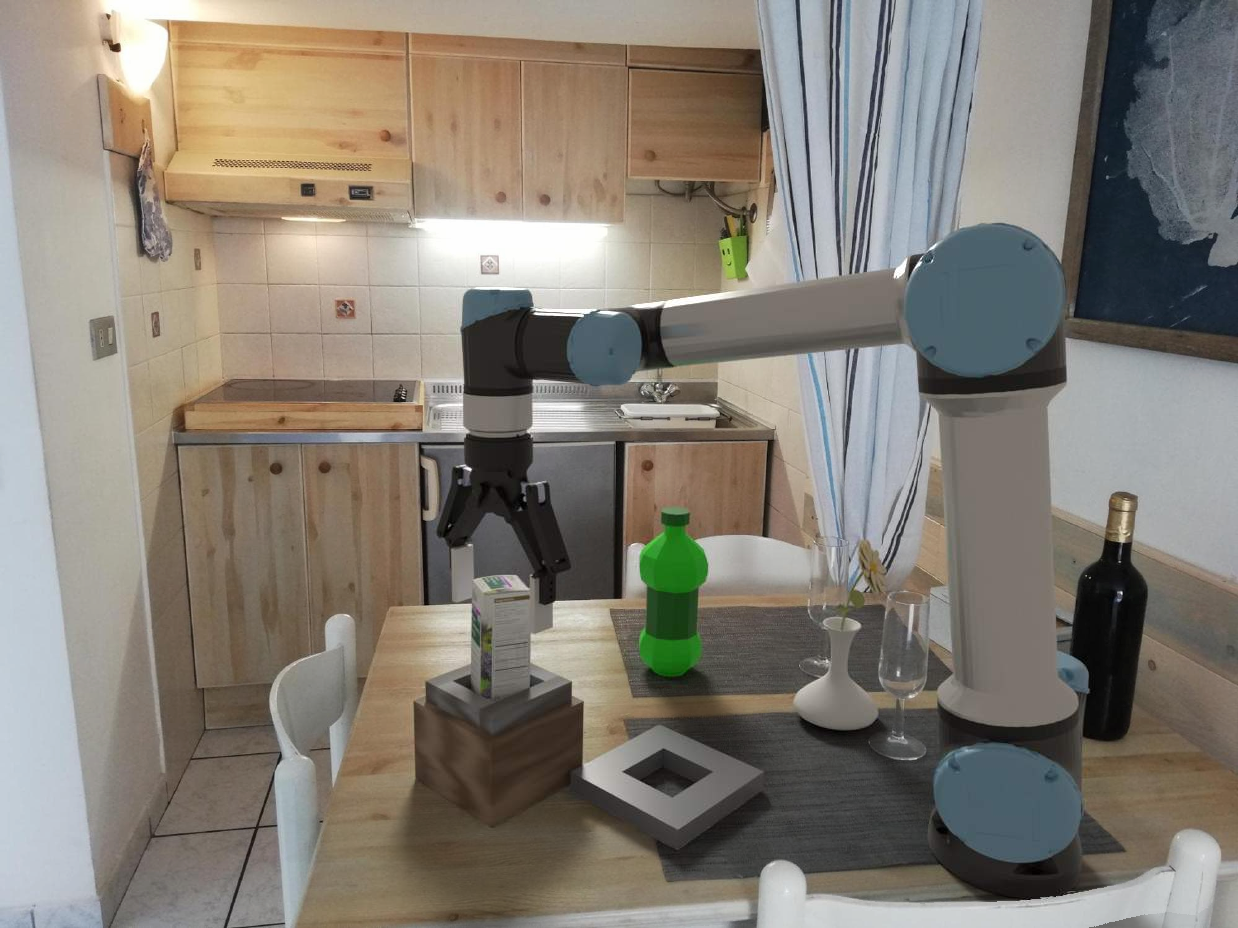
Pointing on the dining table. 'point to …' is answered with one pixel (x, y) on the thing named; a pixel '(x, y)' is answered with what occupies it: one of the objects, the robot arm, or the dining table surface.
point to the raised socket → (497, 743)
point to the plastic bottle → (672, 596)
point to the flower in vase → (844, 661)
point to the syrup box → (500, 636)
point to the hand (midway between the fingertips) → (500, 614)
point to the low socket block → (653, 811)
